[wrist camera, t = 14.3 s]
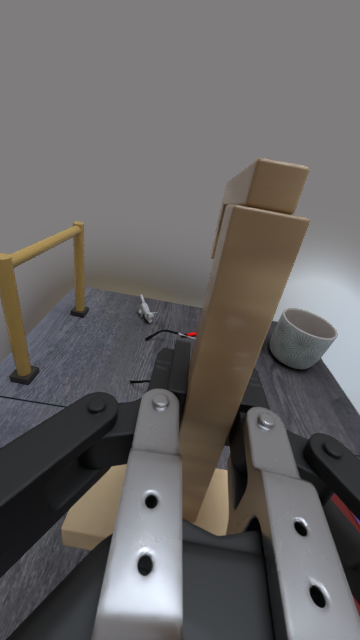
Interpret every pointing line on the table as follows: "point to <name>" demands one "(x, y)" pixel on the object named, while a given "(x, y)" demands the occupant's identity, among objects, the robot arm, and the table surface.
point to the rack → (4, 287)
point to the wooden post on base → (219, 345)
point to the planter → (301, 338)
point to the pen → (190, 334)
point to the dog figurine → (145, 311)
